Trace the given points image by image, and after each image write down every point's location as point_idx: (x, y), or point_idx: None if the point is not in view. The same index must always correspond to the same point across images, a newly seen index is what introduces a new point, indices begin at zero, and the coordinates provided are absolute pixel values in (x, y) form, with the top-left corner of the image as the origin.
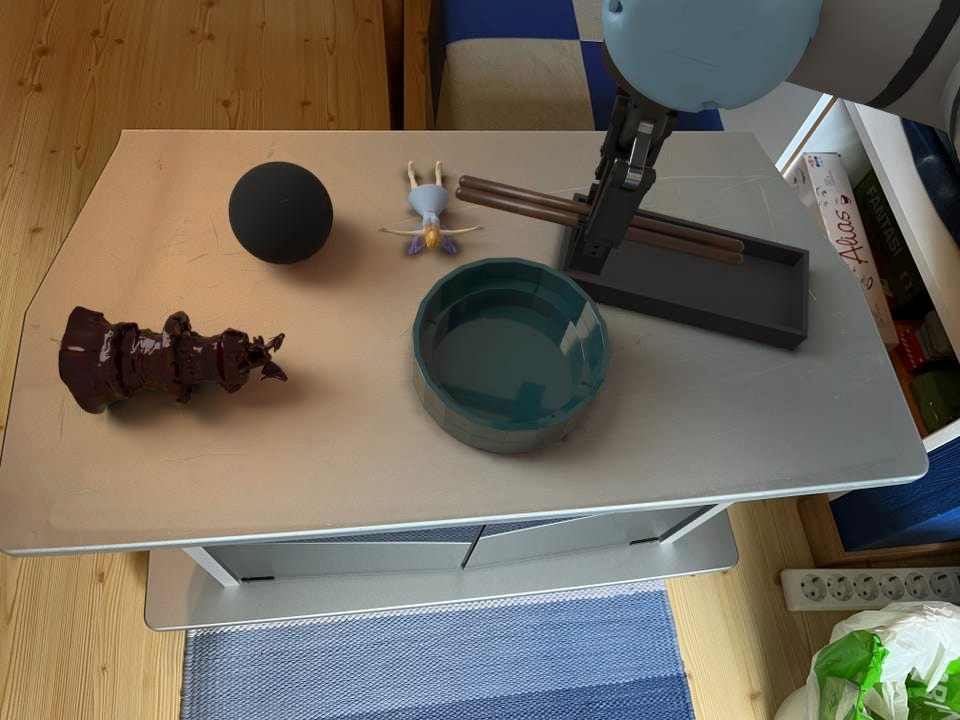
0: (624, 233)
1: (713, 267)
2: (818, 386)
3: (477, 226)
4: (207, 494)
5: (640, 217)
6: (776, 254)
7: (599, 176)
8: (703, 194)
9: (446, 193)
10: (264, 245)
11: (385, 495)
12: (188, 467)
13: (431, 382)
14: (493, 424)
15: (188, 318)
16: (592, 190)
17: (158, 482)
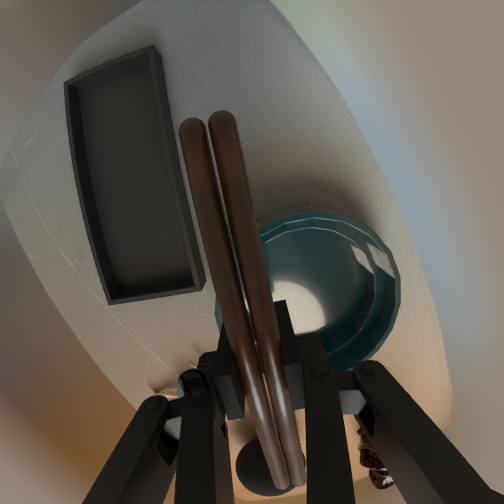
0: (407, 394)
1: (107, 149)
2: (187, 28)
3: (192, 366)
4: (433, 388)
5: (229, 322)
6: (74, 105)
7: (226, 428)
8: (44, 190)
9: (178, 395)
10: (305, 465)
11: (422, 315)
12: (421, 403)
13: (377, 347)
14: (397, 289)
15: (362, 460)
16: (243, 416)
17: (429, 406)
